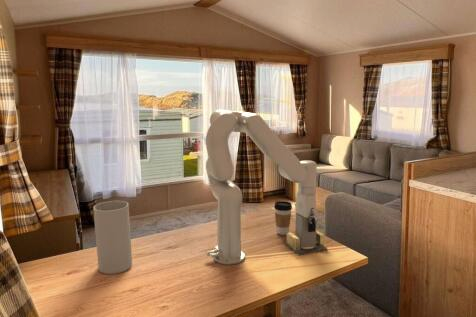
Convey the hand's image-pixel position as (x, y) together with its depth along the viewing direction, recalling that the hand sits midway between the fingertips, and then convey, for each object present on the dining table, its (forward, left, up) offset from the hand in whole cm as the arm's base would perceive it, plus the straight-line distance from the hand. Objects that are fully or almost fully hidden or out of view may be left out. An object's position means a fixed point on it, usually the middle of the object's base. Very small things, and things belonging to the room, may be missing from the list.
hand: (305, 227), depth 155 cm
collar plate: (0, 0, -9) cm, 9 cm away
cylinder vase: (-79, +11, -9) cm, 80 cm away
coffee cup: (-2, +18, -9) cm, 20 cm away
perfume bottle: (0, 0, -8) cm, 8 cm away
